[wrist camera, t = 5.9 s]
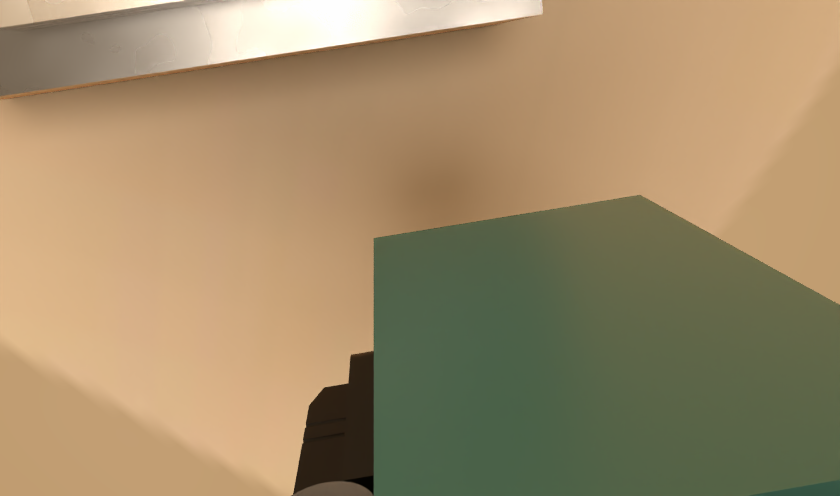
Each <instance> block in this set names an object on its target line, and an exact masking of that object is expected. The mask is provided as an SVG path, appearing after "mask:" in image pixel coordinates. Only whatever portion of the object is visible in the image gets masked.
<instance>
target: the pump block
mask: <svg viewBox="0 0 840 496" xmlns="http://www.w3.org/2000/svg"><path fill="white" fill-rule="evenodd" d="M374 496H840V305H839V304H837V303H835V302H833V301H832V300H830V299H828V298H826V297H824V296H822V295H821V294H819V293H817V292H815V291H813V290H812V289H810V288H808V287H806V286H804V285H802V284H801V283H799V282H797V281H795V280H793V279H791V278H790V277H788V276H786V275H784V274H782V273H781V272H779V271H777V270H775V269H773V268H771V267H770V266H768V265H766V264H764V263H763V262H761V261H759V260H757V259H755V258H753V257H752V256H750V255H748V254H746V253H744V252H743V251H741V250H739V249H737V248H735V247H733V246H732V245H730V244H728V243H726V242H724V241H723V240H721V239H719V238H717V237H715V236H714V235H712V234H710V233H708V232H706V231H704V230H703V229H701V228H699V227H697V226H695V225H694V224H692V223H690V222H688V221H686V220H684V219H683V218H681V217H679V216H677V215H675V214H674V213H672V212H670V211H668V210H666V209H664V208H663V207H661V206H659V205H657V204H655V203H654V202H652V201H650V200H648V199H646V198H645V197H643V196H641V195H637V196H631V197H625V198H619V199H613V200H607V201H600V202H594V203H588V204H582V205H576V206H570V207H563V208H557V209H551V210H545V211H539V212H533V213H526V214H520V215H514V216H508V217H502V218H496V219H490V220H483V221H477V222H471V223H465V224H459V225H453V226H446V227H440V228H434V229H428V230H422V231H416V232H410V233H403V234H397V235H391V236H385V237H379V238H374Z"/></svg>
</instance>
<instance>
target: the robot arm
mask: <svg viewBox="0 0 840 496" xmlns="http://www.w3.org/2000/svg"><path fill="white" fill-rule="evenodd" d="M303 442H304V443H303V444H302V449H301V454H300V460H299V465H298V471H297V476H296V482H295V488H294V493H293V495H292V496H374V351H371V352H365V353H359V354H353V355H351V358H350V371H349V384H343V385H337V386H331V387H325V388H324V389H323V390H322V391H321V392H320V393H319V394H318V396H317V397H316V398H315V399H314V400H313V402H312V403H311V404H310V405H309V410H308V415H307V421H306V428H305V432H304V438H303Z"/></svg>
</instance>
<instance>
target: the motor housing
mask: <svg viewBox="0 0 840 496" xmlns="http://www.w3.org/2000/svg"><path fill="white" fill-rule="evenodd" d="M541 14H543V8H542V0H0V100H1V99H9V98H15V97H22V96H29V95H35V94H42V93H48V92H55V91H62V90H68V89H75V88H81V87H88V86H95V85H101V84H108V83H114V82H121V81H128V80H134V79H141V78H147V77H154V76H161V75H167V74H174V73H180V72H187V71H193V70H200V69H207V68H213V67H220V66H226V65H233V64H240V63H246V62H253V61H259V60H266V59H273V58H279V57H286V56H292V55H299V54H306V53H312V52H319V51H325V50H332V49H339V48H345V47H352V46H358V45H365V44H372V43H378V42H385V41H391V40H398V39H405V38H411V37H418V36H424V35H431V34H437V33H444V32H451V31H457V30H464V29H470V28H477V27H484V26H490V25H496V24H501V23H505V22H510V21H514V20H519V19H523V18H528V17H532V16H537V15H541Z"/></svg>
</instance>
